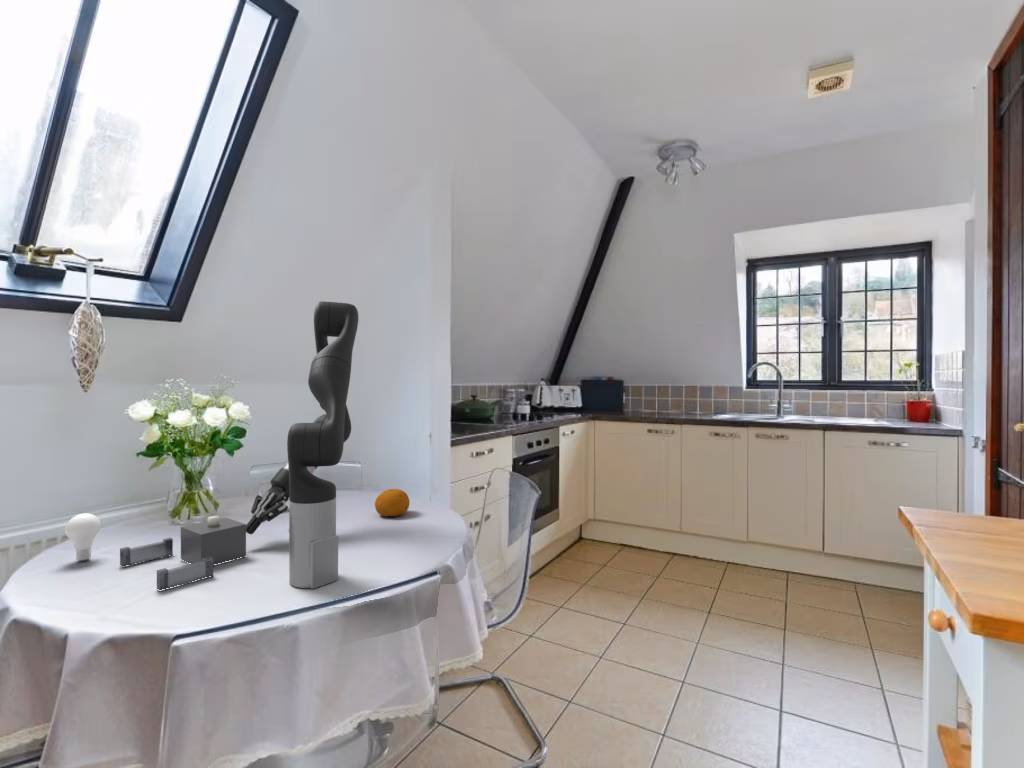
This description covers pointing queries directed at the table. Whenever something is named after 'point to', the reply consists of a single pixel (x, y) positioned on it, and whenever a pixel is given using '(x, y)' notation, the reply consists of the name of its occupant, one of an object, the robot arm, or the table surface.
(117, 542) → the table surface
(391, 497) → the fruit
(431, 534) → the table surface
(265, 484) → the grey rectangular block
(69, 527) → the lightbulb
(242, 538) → the plug block
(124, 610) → the table surface
